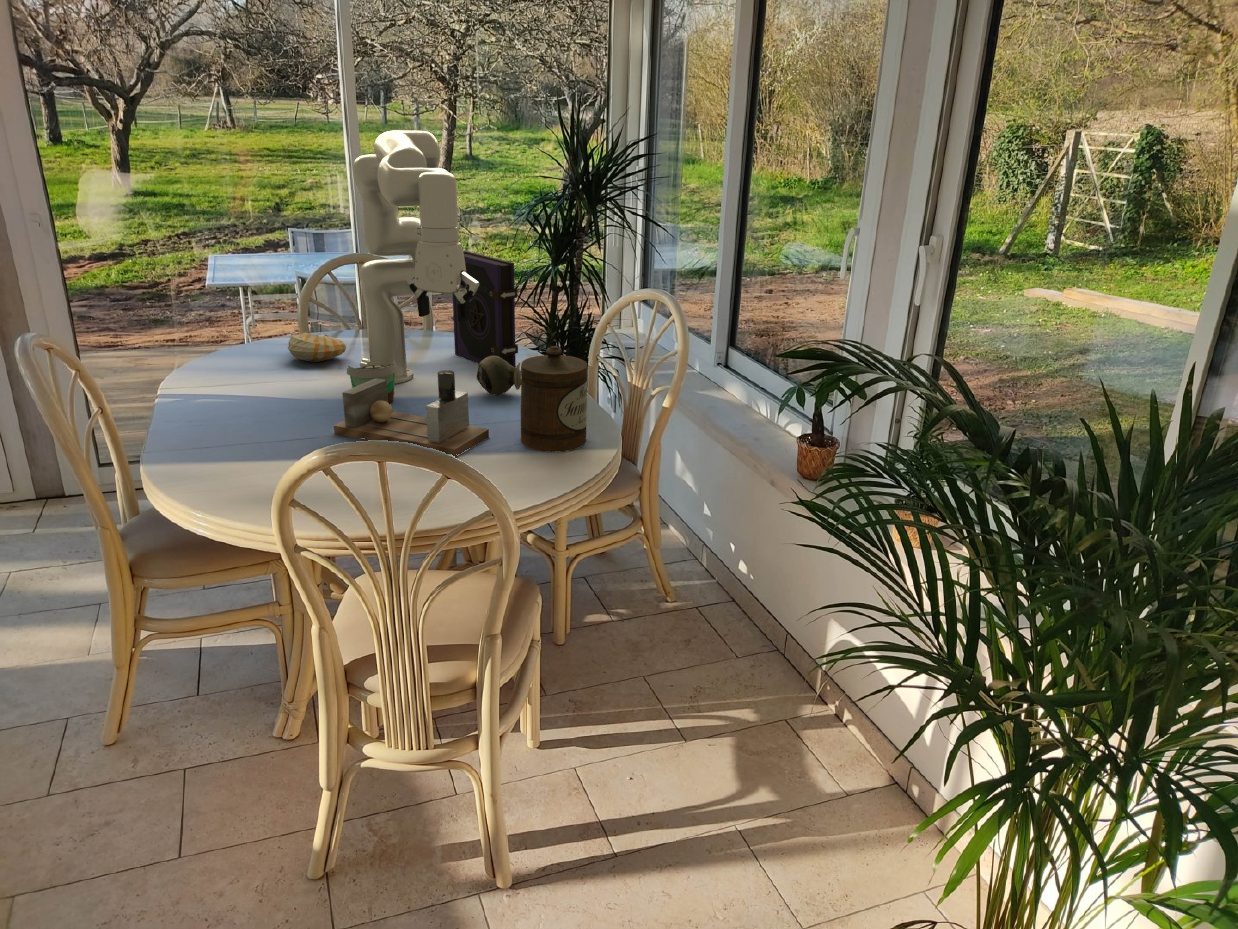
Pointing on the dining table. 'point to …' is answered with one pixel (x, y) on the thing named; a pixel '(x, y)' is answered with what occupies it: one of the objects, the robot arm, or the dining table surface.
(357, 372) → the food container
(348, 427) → the base
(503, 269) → the book
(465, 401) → the sliding jaw
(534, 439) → the wooden container
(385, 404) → the walnut
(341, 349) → the nautilus
